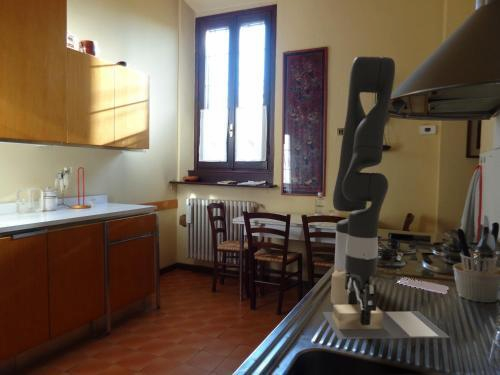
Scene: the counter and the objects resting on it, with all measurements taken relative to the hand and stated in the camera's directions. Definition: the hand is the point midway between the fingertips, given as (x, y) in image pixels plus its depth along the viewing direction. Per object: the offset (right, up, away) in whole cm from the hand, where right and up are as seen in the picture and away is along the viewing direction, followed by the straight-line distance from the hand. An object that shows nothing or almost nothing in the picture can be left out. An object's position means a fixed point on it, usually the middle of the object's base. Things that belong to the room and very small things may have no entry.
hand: (358, 316), depth 88 cm
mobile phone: (+31, -1, +30) cm, 43 cm away
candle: (-1, -2, +14) cm, 14 cm away
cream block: (0, -2, +1) cm, 2 cm away
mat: (+6, -3, +1) cm, 7 cm away
